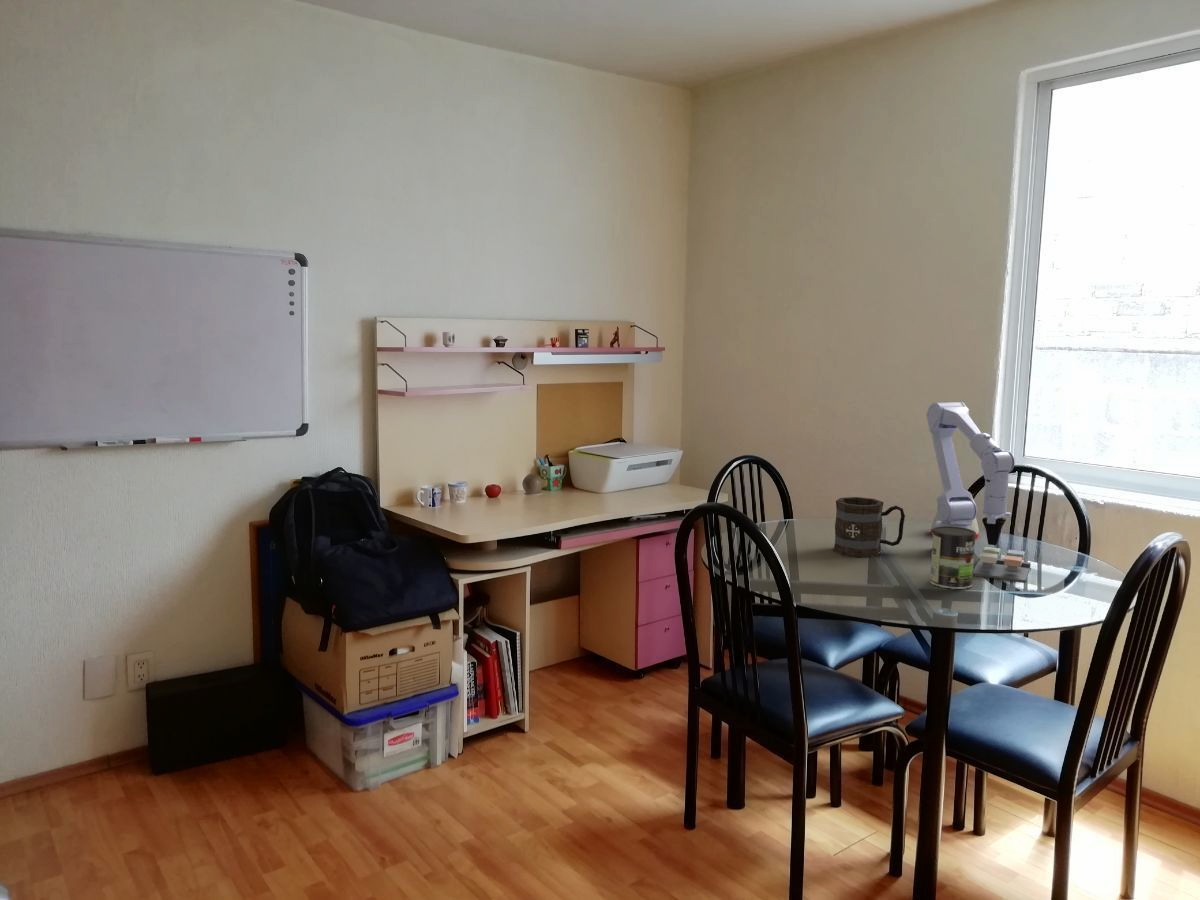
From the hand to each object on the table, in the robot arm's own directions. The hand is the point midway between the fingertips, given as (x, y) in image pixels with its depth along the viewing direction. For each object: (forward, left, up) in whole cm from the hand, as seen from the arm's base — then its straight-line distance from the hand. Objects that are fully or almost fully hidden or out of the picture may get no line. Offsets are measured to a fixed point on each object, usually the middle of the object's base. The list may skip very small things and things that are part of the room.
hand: (992, 544), depth 247 cm
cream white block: (0, 0, -4) cm, 5 cm away
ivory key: (0, -7, -4) cm, 8 cm away
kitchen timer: (-14, +33, -7) cm, 37 cm away
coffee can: (-7, -22, -7) cm, 24 cm away
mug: (-33, -1, -7) cm, 34 cm away
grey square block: (+6, 0, -4) cm, 7 cm away
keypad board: (+3, -3, -6) cm, 8 cm away
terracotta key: (+6, -7, -5) cm, 10 cm away
